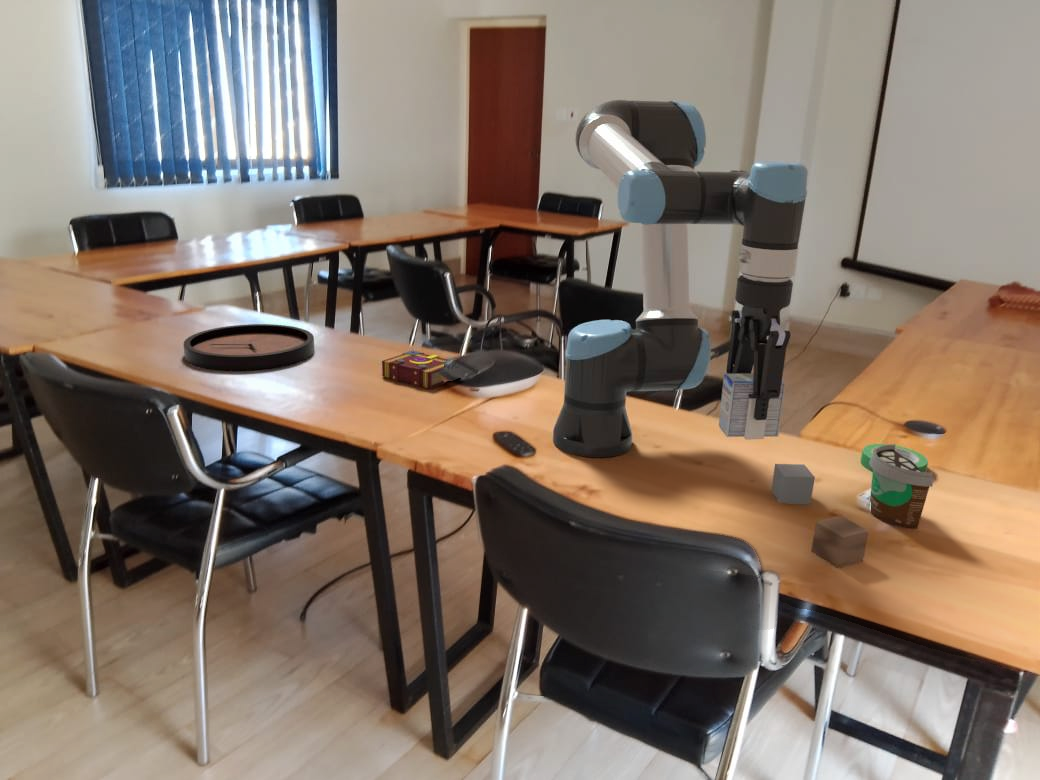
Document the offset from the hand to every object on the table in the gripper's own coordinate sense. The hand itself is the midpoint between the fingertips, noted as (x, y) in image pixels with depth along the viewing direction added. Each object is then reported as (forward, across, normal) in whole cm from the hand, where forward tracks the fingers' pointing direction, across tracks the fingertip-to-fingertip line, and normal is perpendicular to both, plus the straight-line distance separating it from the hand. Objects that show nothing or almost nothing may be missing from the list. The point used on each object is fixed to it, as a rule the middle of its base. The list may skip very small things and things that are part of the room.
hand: (745, 431), depth 120 cm
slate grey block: (+16, -8, +14) cm, 23 cm away
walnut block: (+16, +11, +11) cm, 22 cm away
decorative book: (+16, -79, -43) cm, 91 cm away
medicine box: (0, 0, 0) cm, 1 cm away
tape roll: (+16, -17, +40) cm, 46 cm away
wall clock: (+17, -103, -84) cm, 134 cm away
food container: (+16, 0, +26) cm, 30 cm away
